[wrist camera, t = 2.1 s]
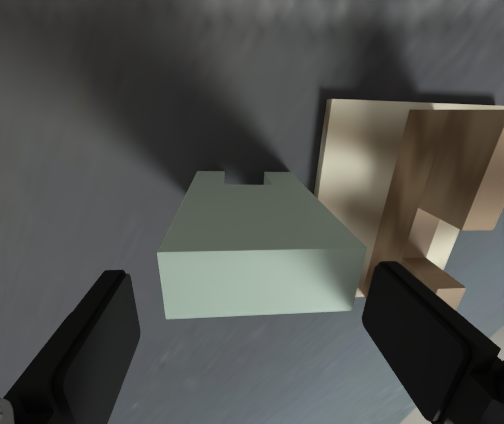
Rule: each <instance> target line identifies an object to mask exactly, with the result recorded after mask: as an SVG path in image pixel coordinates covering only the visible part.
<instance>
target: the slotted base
mask: <svg viewBox="0 0 504 424" xmlns="http://www.w3.org/2000/svg"><path fill="white" fill-rule="evenodd" d="M314 196H315V197H316V198H317V199H318V200H319V201H320V202H321V203H322V204H323V205H324V206H325V207H326V208H327V209H328V210H329V211H330V212H331V213H332V214H333V215H334V216H335V217H336V218H337V219H338V220H339V221H341V222H342V223H343V224H344V225H345V226H346V227H347V228H348V229H349V230H350V231H351V232H352V233H353V234H354V235H355V236H356V237H357V238H358V239H359V240H360V241H361V242H362V243H363V244H364V245H365V246H366V247H367V251H366V255H365V259H364V264H363V268H362V272H361V276H360V280H359V284H358V288H357V292H356V296H355V297H365V298H366V299H367V295H368V291H369V287H370V283H371V279H372V275H373V271H374V268H375V266H376V265H378V263H379V262H381V261H397V262H398V263H400V264H401V265H402V266H403V267H404V268H406V269H407V270H408V271H409V272H410V273H412V274H413V275H414V276H415V277H416V278H417V279H419V280H420V281H421V282H422V283H423V284H425V285H426V286H427V287H428V288H429V289H431V290H432V291H433V292H434V293H435V294H436V295H438V296H439V297H440V298H441V299H442V300H444V301H445V302H446V303H447V304H448V305H450V306H451V307H452V308H453V309H454V310H455V311H456V309H457V307H458V305H459V303H460V301H461V298H462V296H463V294H464V292H465V290H466V287H464V286H463V285H462V284H460V283H459V282H458V281H456V280H455V279H454V278H452V277H451V276H450V275H448V274H447V273H446V272H444V271H443V270H444V267H445V265H446V262H447V260H448V257H449V255H450V252H451V250H452V247H453V245H454V242H455V240H456V238H457V235H458V233H459V230H493V229H494V227H495V225H496V223H497V220H498V218H499V216H500V214H501V212H502V210H503V207H504V106H493V105H469V104H445V103H421V102H397V101H373V100H349V99H327V102H326V110H325V117H324V124H323V132H322V139H321V146H320V153H319V161H318V168H317V175H316V183H315V190H314Z"/></svg>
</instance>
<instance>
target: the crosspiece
mask: <svg viewBox="0 0 504 424" xmlns="http://www.w3.org/2000/svg"><path fill="white" fill-rule="evenodd" d="M366 251H367V247H366V246H365V245H364V244H363V243H362V242H361V241H360V240H359V239H358V238H357V237H356V236H355V235H354V234H353V233H352V232H351V231H350V230H349V229H348V228H347V227H346V226H345V225H344V224H343V223H342V222H341V221H339V220H338V219H337V218H336V217H335V216H334V215H333V214H332V213H331V212H330V211H329V210H328V209H327V208H326V207H325V206H324V205H323V204H322V203H321V202H320V201H319V200H318V199H317V198H316V197H315V196H314V195H313V194H312V193H311V192H310V191H309V190H308V189H307V188H306V187H305V186H304V185H303V184H302V183H301V182H300V181H299V180H298V179H297V178H296V177H295V176H294V175H293V174H292V173H291V172H264V185H225V171H197V173H196V175H195V177H194V179H193V181H192V183H191V185H190V187H189V189H188V191H187V193H186V195H185V197H184V199H183V201H182V203H181V205H180V207H179V209H178V211H177V213H176V215H175V217H174V219H173V221H172V223H171V225H170V227H169V229H168V231H167V233H166V235H165V237H164V239H163V241H162V243H161V245H160V247H159V249H158V251H157V256H158V264H159V271H160V278H161V286H162V293H163V301H164V308H165V315H166V319H182V318H204V317H225V316H246V315H268V314H289V313H310V312H332V311H352V308H353V304H354V300H355V296H356V292H357V288H358V284H359V280H360V276H361V272H362V268H363V264H364V259H365V255H366Z"/></svg>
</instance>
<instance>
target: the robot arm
mask: <svg viewBox="0 0 504 424" xmlns="http://www.w3.org/2000/svg"><path fill="white" fill-rule="evenodd" d="M362 323H363V326H364V327H365V329H366V330H367V332H368V334H369V335H370V337H371V338H372V340H373V341H374V343H375V344H376V346H377V347H378V349H379V350H380V352H381V353H382V355H383V356H384V358H385V359H386V361H387V362H388V364H389V365H390V367H391V368H392V370H393V371H394V373H395V374H396V376H397V377H398V379H399V380H400V382H401V383H402V385H403V386H404V388H405V390H406V391H407V393H408V394H409V396H410V397H411V399H412V400H413V402H414V403H415V405H416V406H417V408H418V409H419V411H420V412H421V414H422V415H423V416H424V418H425V419H426V420H428V421H430V422H431V423H432V424H504V361H501V359H499V358H498V357H497V355H498V353H499V352H500V350H501V349H500V348H499V347H498V346H497V345H496V344H494V343H493V342H492V341H491V340H490V339H489V338H487V337H486V336H485V335H484V334H483V333H482V332H480V331H479V330H478V329H477V328H476V327H474V326H473V325H472V324H471V323H470V322H468V321H467V320H466V319H465V318H464V317H463V316H461V315H460V314H459V313H458V312H457V311H455V310H454V309H453V308H452V307H451V306H450V305H448V304H447V303H446V302H445V301H444V300H442V299H441V298H440V297H439V296H438V295H436V294H435V293H434V292H433V291H432V290H431V289H429V288H428V287H427V286H426V285H425V284H423V283H422V282H421V281H420V280H419V279H417V278H416V277H415V276H414V275H413V274H412V273H410V272H409V271H408V270H407V269H406V268H404V267H403V266H402V265H401V264H400V263H398V262H397V261H381V262H379V263H378V265H376V266H375V268H374V271H373V275H372V279H371V283H370V287H369V291H368V295H367V299H366V303H365V307H364V311H363V315H362ZM139 338H140V326H139V321H138V315H137V310H136V304H135V299H134V293H133V288H132V282H131V277H130V275H129V274H125V271H124V270H106V271H104V272H103V273H102V275H101V276H100V277H99V278H98V280H97V281H96V282H95V284H94V285H93V286H92V287H91V289H90V290H89V291H88V293H87V294H86V295H85V296H84V298H83V299H82V300H81V302H80V303H79V304H78V305H77V307H76V308H75V309H74V311H73V312H71V313H70V314H69V315H68V316H67V318H66V319H65V320H64V321H63V323H62V324H61V325H60V326H59V328H58V329H57V330H56V332H55V333H54V334H53V335H52V337H51V338H50V339H49V340H48V342H47V343H46V344H45V346H44V347H43V348H42V349H41V351H40V352H39V353H38V354H37V356H36V357H35V358H34V360H33V361H32V362H31V363H30V365H29V366H28V367H27V368H26V370H25V371H24V372H23V374H22V375H21V376H20V377H19V379H18V380H17V381H16V382H15V384H14V385H13V386H12V388H11V389H10V390H9V391H8V393H7V394H6V395H5V396H4V398H0V424H107V423H108V420H109V418H110V415H111V413H112V410H113V407H114V405H115V402H116V400H117V397H118V394H119V392H120V389H121V386H122V384H123V381H124V379H125V376H126V373H127V371H128V368H129V366H130V363H131V360H132V358H133V355H134V352H135V350H136V347H137V345H138V342H139Z"/></svg>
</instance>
